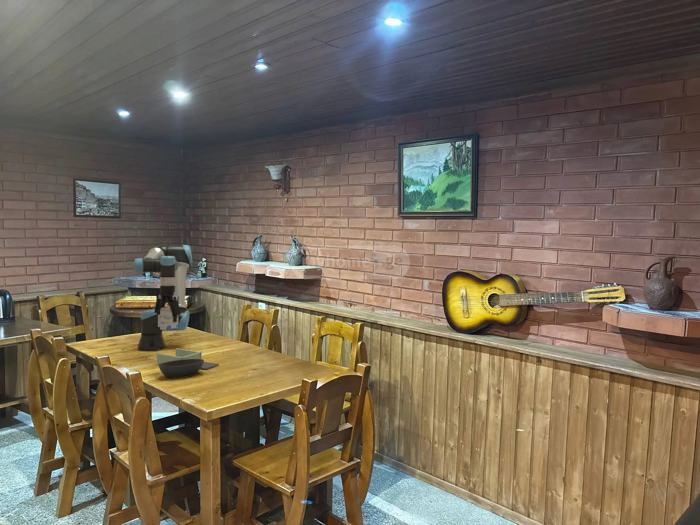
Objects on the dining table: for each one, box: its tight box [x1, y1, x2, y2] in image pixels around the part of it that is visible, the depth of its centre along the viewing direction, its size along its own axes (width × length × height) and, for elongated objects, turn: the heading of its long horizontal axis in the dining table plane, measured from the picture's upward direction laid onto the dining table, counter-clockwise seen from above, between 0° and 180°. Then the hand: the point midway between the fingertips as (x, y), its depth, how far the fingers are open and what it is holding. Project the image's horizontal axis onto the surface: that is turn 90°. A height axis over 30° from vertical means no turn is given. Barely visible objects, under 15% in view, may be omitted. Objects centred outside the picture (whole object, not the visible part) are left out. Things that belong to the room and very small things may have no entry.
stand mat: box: [200, 361, 220, 371], centre depth 259 cm, size 10×10×1 cm
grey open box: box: [156, 348, 203, 366], centre depth 262 cm, size 17×14×6 cm
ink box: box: [160, 306, 178, 332], centre depth 266 cm, size 8×5×12 cm, turn 67°
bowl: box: [157, 358, 205, 379], centre depth 243 cm, size 12×22×6 cm, turn 128°
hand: (167, 327), depth 265 cm, fingers closed on ink box, 9 cm apart
